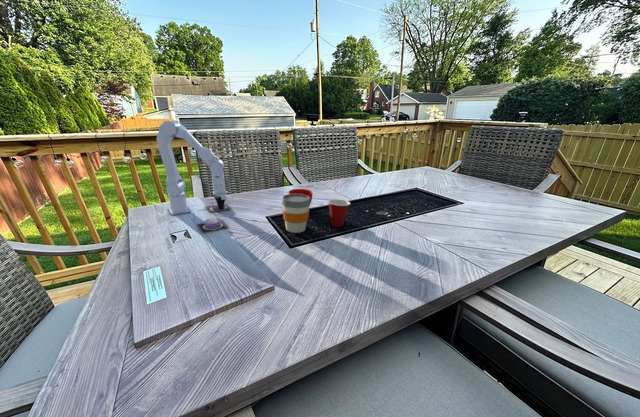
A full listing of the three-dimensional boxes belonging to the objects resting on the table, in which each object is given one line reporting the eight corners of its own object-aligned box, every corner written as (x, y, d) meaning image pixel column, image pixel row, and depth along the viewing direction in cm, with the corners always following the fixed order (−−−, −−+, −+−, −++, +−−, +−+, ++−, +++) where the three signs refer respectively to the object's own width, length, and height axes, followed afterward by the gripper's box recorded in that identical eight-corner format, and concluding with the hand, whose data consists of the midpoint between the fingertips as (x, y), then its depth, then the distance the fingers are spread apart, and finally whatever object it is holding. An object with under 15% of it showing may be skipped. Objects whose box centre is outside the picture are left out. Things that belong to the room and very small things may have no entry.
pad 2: (198, 224, 119) (198, 224, 119) (220, 220, 125) (220, 220, 125) (204, 232, 111) (204, 232, 111) (227, 227, 117) (227, 227, 117)
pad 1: (206, 207, 141) (206, 206, 141) (224, 204, 147) (224, 204, 147) (211, 212, 133) (211, 212, 133) (230, 209, 139) (230, 209, 139)
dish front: (202, 225, 118) (202, 219, 118) (218, 222, 123) (217, 216, 122) (207, 230, 113) (206, 225, 113) (223, 227, 118) (223, 221, 117)
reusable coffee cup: (276, 228, 120) (276, 196, 115) (296, 221, 128) (297, 191, 123) (294, 237, 112) (295, 203, 107) (315, 229, 121) (316, 198, 116)
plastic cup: (351, 223, 130) (353, 200, 126) (344, 230, 120) (346, 206, 116) (331, 218, 134) (332, 196, 130) (322, 226, 124) (324, 202, 120)
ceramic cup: (280, 213, 138) (280, 195, 134) (295, 204, 153) (295, 187, 149) (302, 217, 133) (303, 199, 130) (315, 207, 148) (316, 191, 145)
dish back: (210, 207, 141) (209, 202, 140) (223, 205, 145) (223, 200, 144) (213, 211, 135) (213, 206, 135) (227, 209, 139) (227, 204, 139)
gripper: (231, 186, 129) (233, 212, 133) (222, 180, 140) (224, 204, 144) (216, 187, 125) (219, 214, 129) (208, 181, 136) (211, 206, 140)
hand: (221, 209), depth 136 cm, fingers closed
